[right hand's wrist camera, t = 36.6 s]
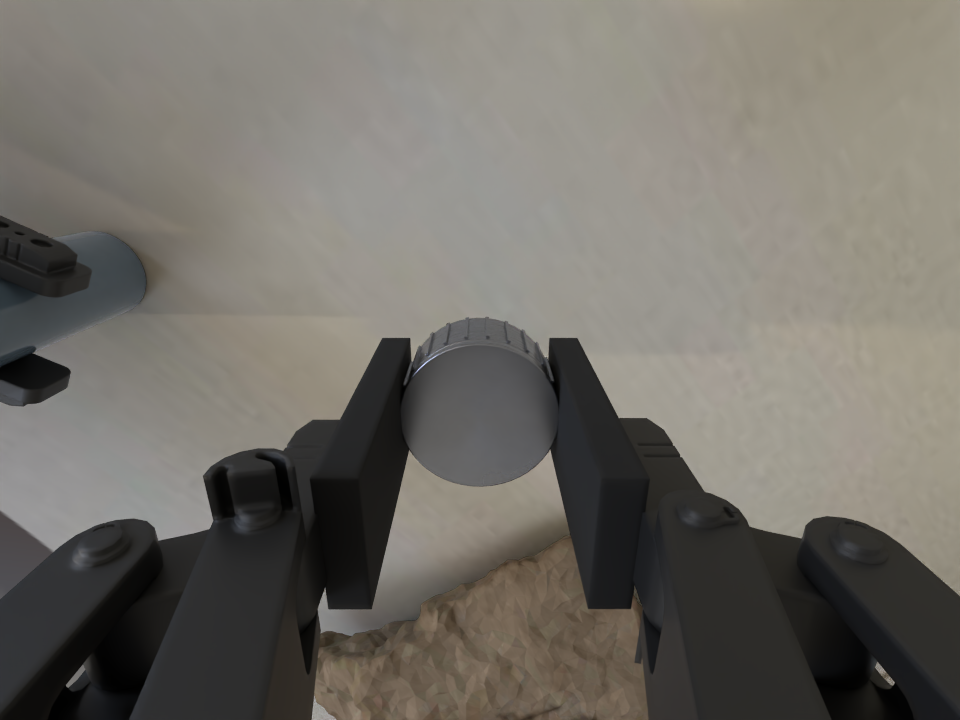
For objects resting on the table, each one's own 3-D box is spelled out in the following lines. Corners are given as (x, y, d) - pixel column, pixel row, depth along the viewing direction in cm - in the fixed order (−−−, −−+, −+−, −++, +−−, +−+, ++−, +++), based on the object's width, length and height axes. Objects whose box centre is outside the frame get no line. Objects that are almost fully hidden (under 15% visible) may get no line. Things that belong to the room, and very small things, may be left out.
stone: (402, 804, 36) (390, 902, 30) (300, 627, 35) (267, 693, 29) (672, 672, 36) (714, 745, 30) (582, 488, 35) (607, 525, 29)
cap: (379, 362, 14) (363, 395, 12) (504, 287, 13) (508, 310, 11) (458, 467, 15) (455, 512, 13) (576, 404, 15) (591, 442, 13)
